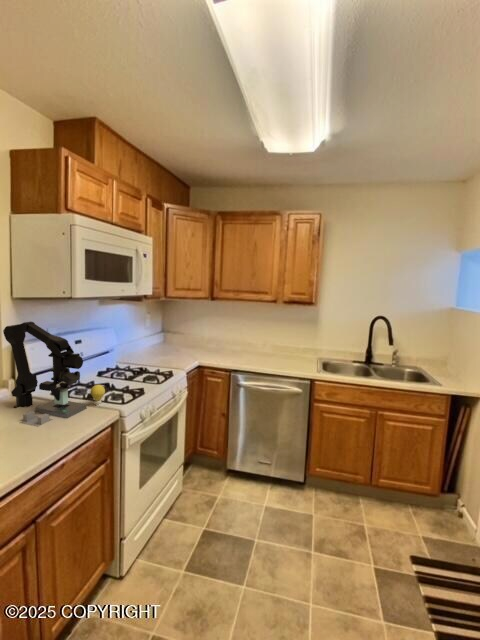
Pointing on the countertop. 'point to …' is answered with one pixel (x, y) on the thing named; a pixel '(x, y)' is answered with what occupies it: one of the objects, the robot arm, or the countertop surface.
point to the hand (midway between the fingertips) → (60, 399)
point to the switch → (57, 410)
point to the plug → (62, 396)
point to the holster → (35, 419)
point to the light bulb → (97, 393)
